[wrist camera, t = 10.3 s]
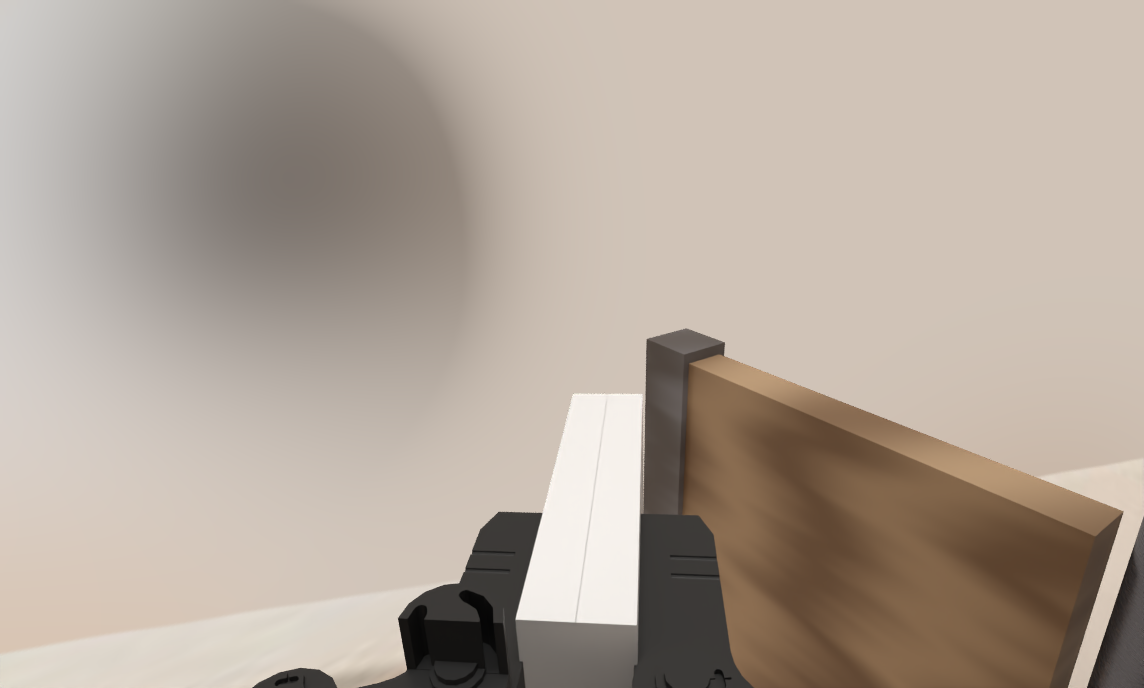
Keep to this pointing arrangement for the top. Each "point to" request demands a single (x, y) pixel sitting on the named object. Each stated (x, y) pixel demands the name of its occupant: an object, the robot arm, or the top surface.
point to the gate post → (1124, 630)
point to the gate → (866, 536)
